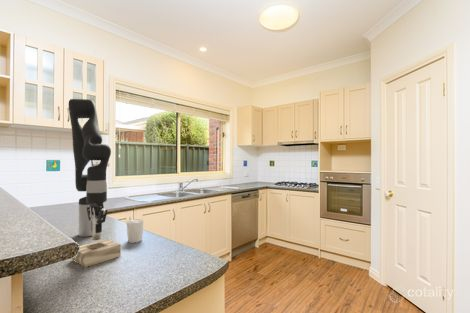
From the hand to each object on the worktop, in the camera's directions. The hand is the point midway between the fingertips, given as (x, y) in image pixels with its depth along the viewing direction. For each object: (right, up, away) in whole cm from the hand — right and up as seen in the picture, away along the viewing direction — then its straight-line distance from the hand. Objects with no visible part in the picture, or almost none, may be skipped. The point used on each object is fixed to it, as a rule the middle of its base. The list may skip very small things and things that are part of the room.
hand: (96, 231), depth 102 cm
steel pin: (0, -3, 0) cm, 3 cm away
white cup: (+7, -12, +22) cm, 26 cm away
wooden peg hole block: (0, -11, 0) cm, 11 cm away
